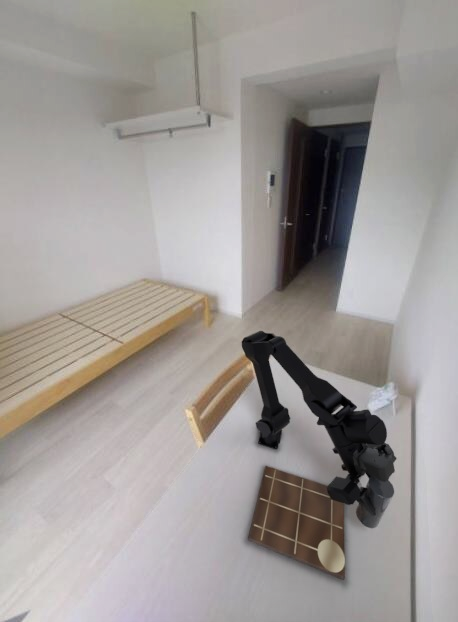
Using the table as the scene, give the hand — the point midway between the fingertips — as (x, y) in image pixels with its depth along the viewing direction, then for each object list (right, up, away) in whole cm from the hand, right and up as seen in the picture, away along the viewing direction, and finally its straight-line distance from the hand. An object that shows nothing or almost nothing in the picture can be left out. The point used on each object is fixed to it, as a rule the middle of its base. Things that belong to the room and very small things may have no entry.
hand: (379, 506), depth 61 cm
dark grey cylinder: (-1, -5, +4) cm, 7 cm away
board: (-16, -10, +10) cm, 21 cm away
